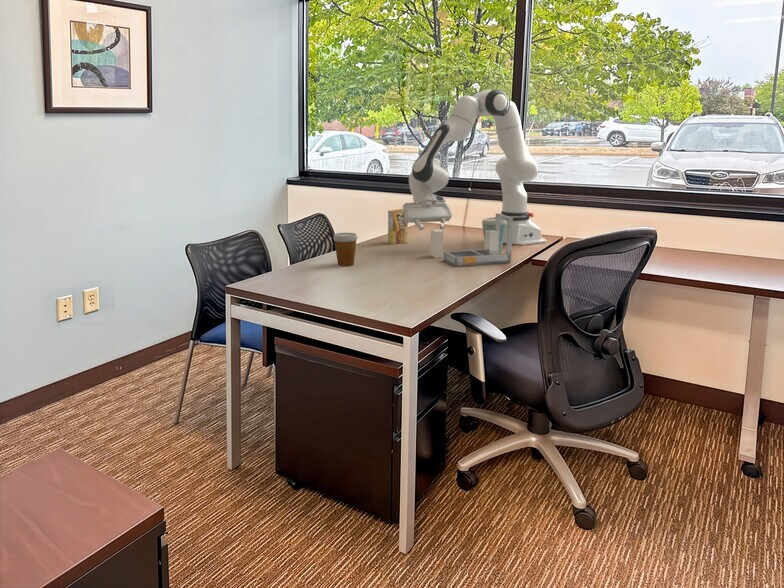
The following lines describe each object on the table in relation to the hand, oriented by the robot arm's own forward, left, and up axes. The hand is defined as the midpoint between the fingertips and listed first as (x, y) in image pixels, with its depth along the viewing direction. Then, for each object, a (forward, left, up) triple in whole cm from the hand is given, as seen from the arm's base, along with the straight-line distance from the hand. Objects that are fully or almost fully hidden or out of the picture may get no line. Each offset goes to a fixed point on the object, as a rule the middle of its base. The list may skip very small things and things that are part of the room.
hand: (432, 228), depth 268 cm
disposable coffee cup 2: (-26, +5, -11) cm, 29 cm away
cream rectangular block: (0, +5, -11) cm, 12 cm away
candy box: (+6, -29, -11) cm, 32 cm away
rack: (-12, +19, -11) cm, 25 cm away
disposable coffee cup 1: (+39, +8, -11) cm, 42 cm away
